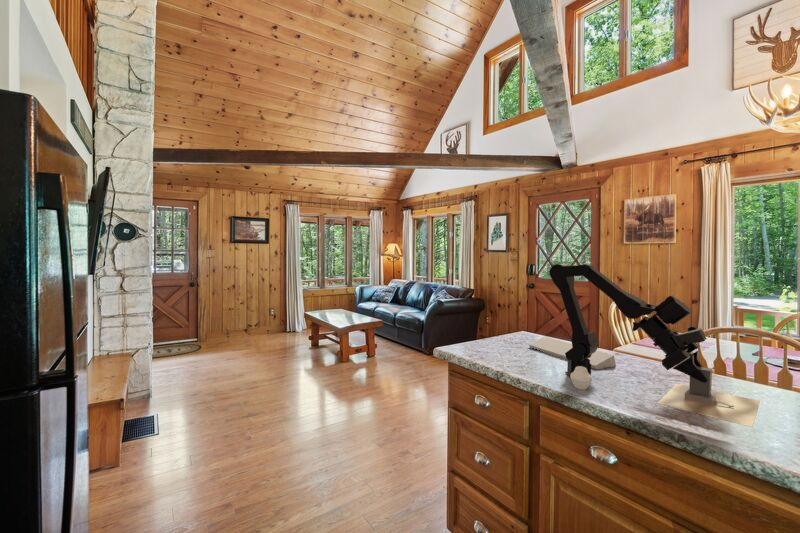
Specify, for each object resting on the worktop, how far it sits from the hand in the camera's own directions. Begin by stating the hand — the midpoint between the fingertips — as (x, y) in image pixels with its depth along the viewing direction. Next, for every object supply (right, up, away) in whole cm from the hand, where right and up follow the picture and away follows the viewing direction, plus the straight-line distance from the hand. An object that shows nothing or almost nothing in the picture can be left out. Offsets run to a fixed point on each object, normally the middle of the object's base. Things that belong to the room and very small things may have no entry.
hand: (707, 380), depth 104 cm
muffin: (-28, -7, +14) cm, 32 cm away
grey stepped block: (-1, -6, +1) cm, 6 cm away
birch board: (0, -7, 0) cm, 7 cm away
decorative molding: (-16, -6, +51) cm, 53 cm away
